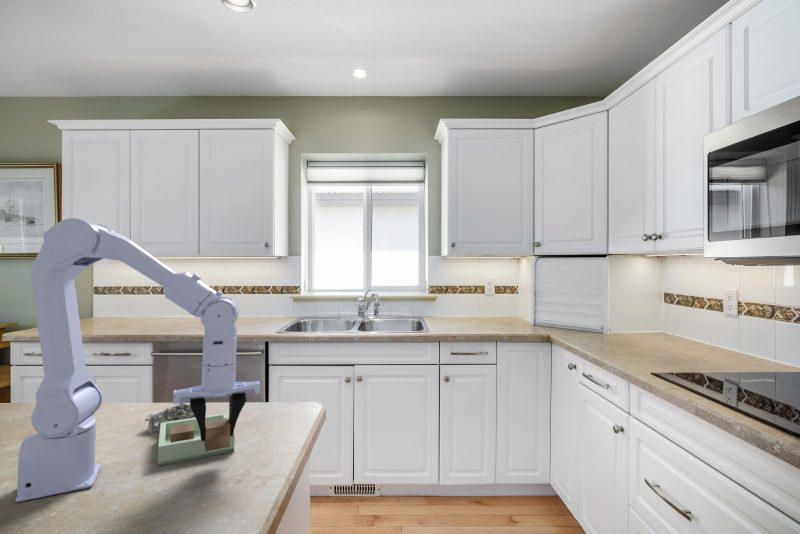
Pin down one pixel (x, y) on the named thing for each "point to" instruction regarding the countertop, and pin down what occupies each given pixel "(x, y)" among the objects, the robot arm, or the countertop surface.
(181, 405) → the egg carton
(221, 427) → the block
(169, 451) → the dish
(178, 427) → the block
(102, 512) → the countertop surface
